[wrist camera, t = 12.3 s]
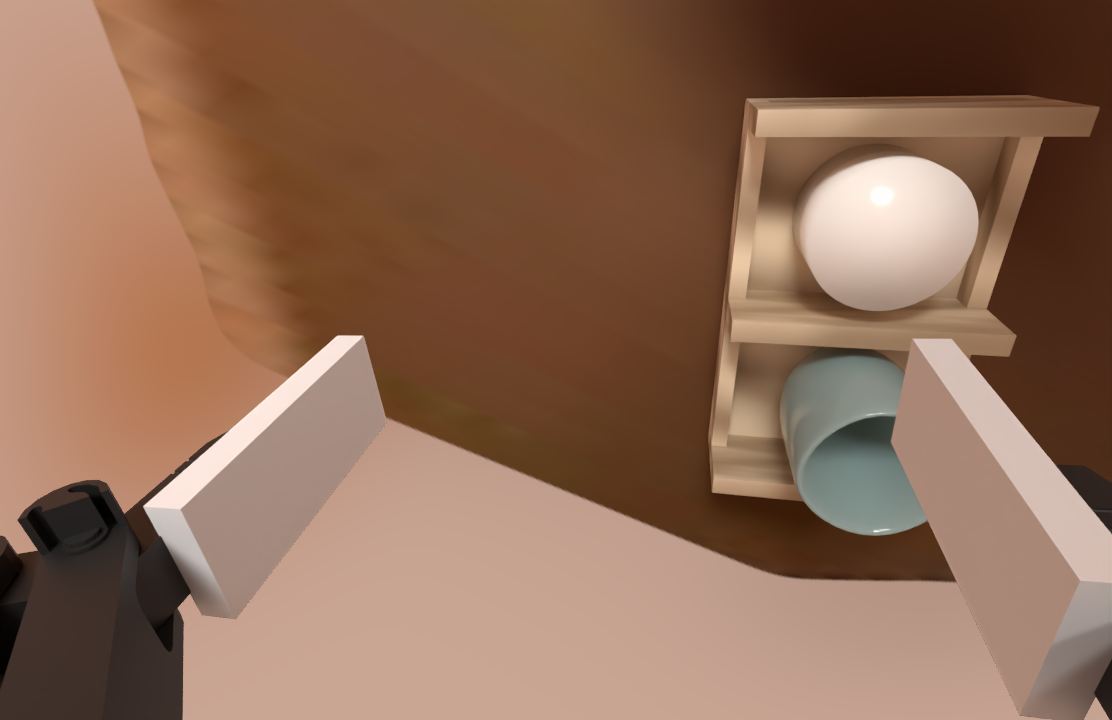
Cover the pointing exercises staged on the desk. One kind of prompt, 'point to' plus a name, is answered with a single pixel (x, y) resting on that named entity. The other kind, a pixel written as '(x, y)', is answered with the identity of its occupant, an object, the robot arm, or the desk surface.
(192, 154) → the desk surface
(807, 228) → the white rounded piece
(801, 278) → the rack
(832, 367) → the cup
